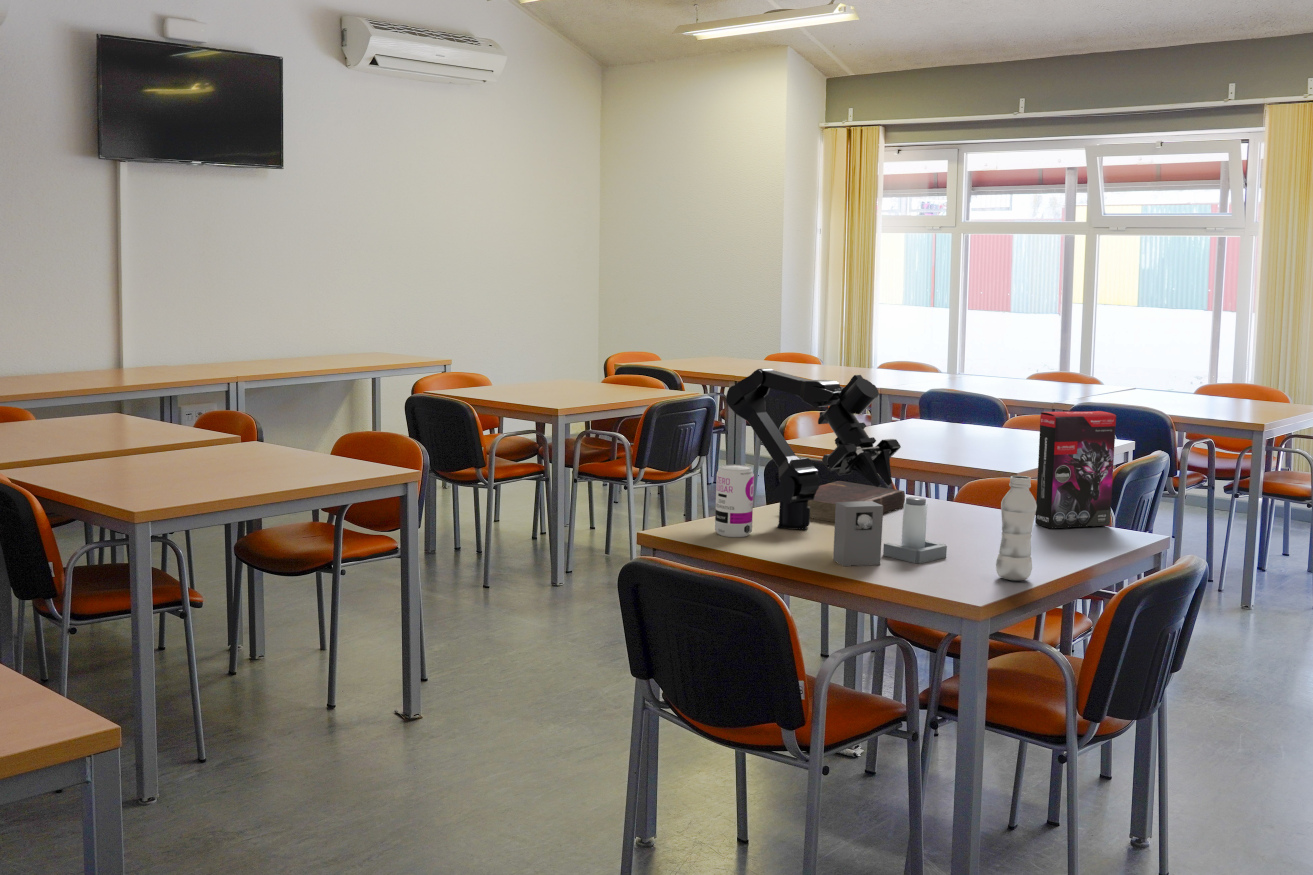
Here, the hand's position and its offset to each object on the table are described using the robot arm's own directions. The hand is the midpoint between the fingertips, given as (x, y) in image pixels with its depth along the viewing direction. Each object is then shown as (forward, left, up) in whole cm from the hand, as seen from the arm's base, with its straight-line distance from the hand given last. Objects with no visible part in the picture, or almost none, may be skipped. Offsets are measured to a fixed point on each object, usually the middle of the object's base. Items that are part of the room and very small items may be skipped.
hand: (884, 485), depth 241 cm
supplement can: (-32, +3, -14) cm, 35 cm away
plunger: (-5, -14, -6) cm, 16 cm away
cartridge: (+7, -5, -14) cm, 16 cm away
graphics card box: (+43, +39, -14) cm, 60 cm away
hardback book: (-10, +39, -14) cm, 43 cm away
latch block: (-4, -15, -14) cm, 21 cm away
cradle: (+7, -5, -14) cm, 16 cm away
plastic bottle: (+26, -19, -14) cm, 35 cm away
